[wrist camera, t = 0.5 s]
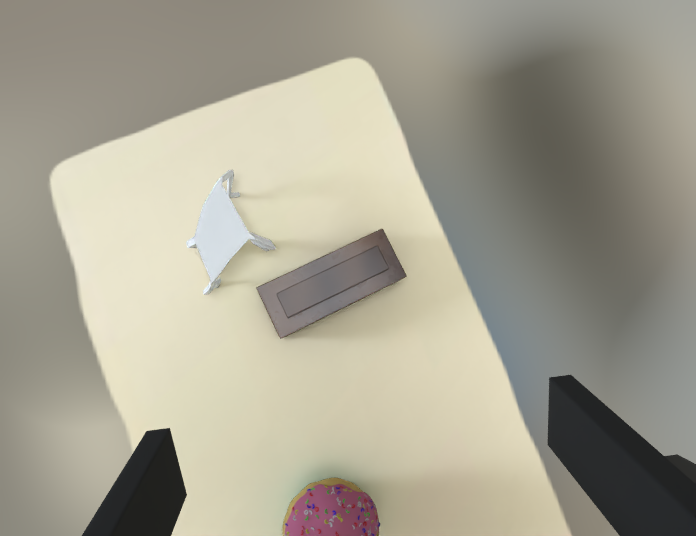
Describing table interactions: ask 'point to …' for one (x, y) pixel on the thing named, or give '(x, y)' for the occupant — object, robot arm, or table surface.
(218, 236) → the origami figure
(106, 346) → the table surface
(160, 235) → the table surface
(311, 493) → the cupcake
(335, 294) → the brown rectangular panel
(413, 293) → the table surface
